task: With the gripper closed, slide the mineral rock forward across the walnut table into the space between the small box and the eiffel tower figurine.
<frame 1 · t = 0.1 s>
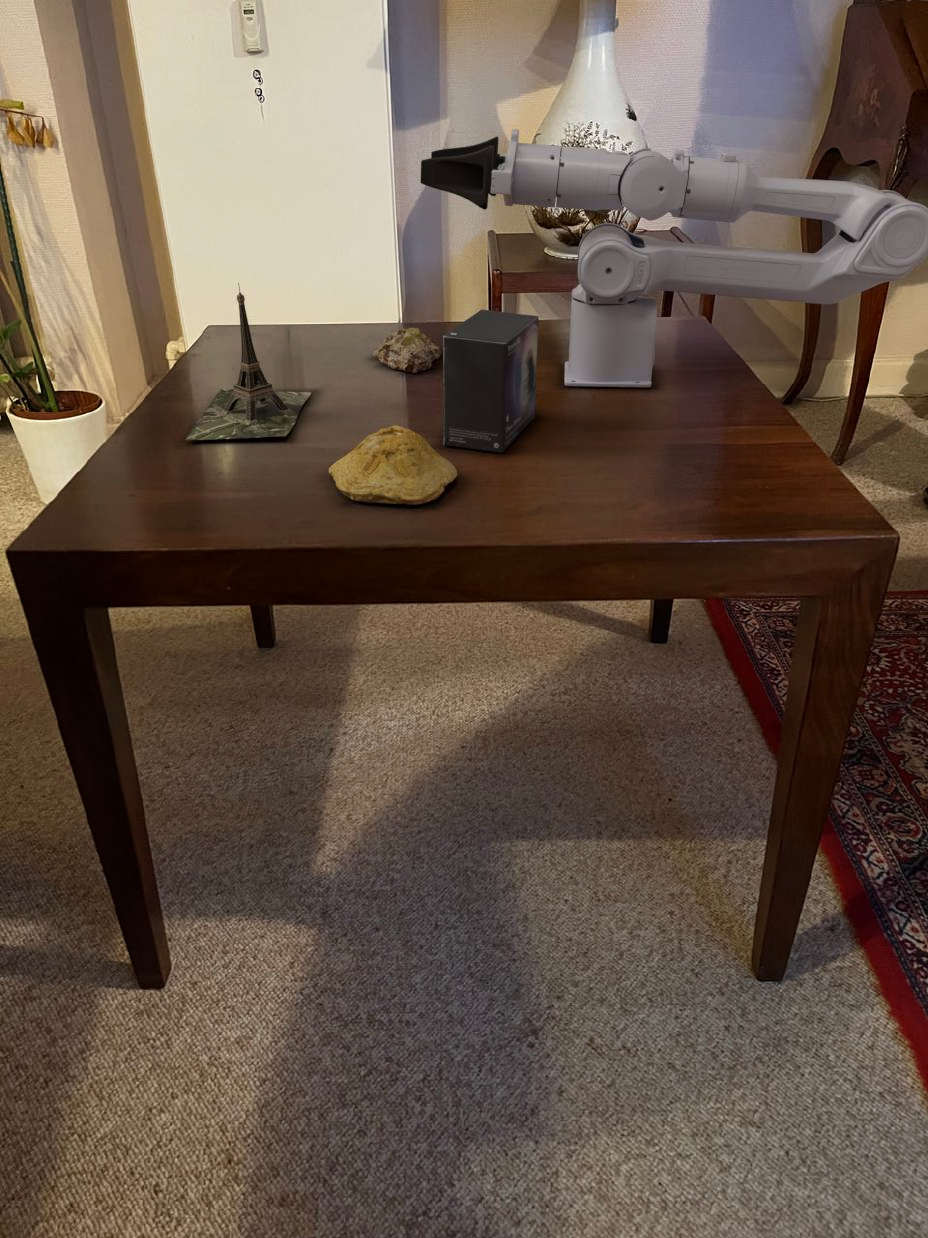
hand: (426, 166, 96), 22 cm above the table, tool horizontal, fingers open, 7 cm apart
small box: (491, 434, 91), on the table
fossil: (389, 485, 81), on the table
mineral rock: (408, 362, 112), on the table
eiffel tower figurine: (253, 418, 96), on the table
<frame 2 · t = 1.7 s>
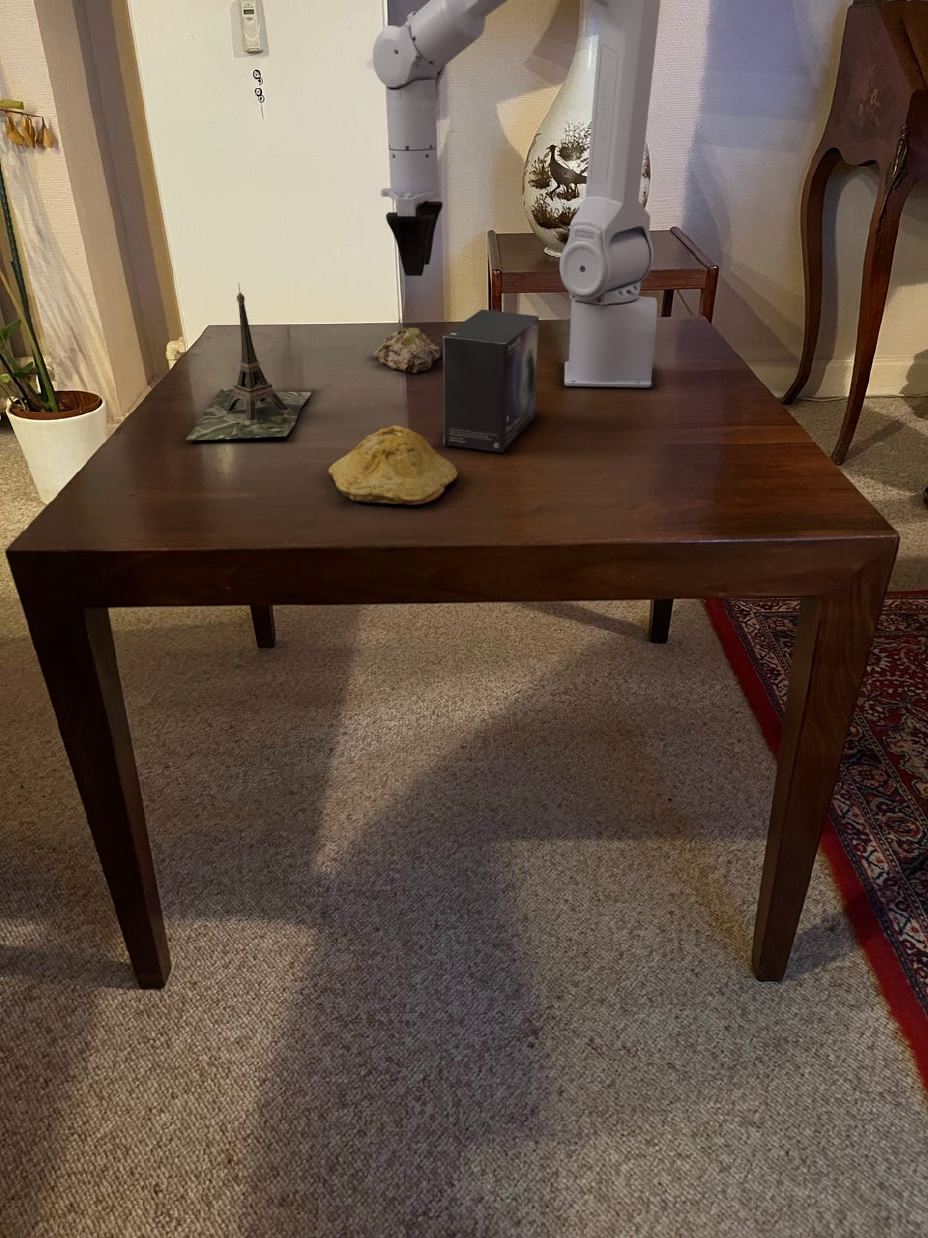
hand: (417, 269, 116), 8 cm above the table, tool pointing down, fingers open, 6 cm apart
nothing on the table moved.
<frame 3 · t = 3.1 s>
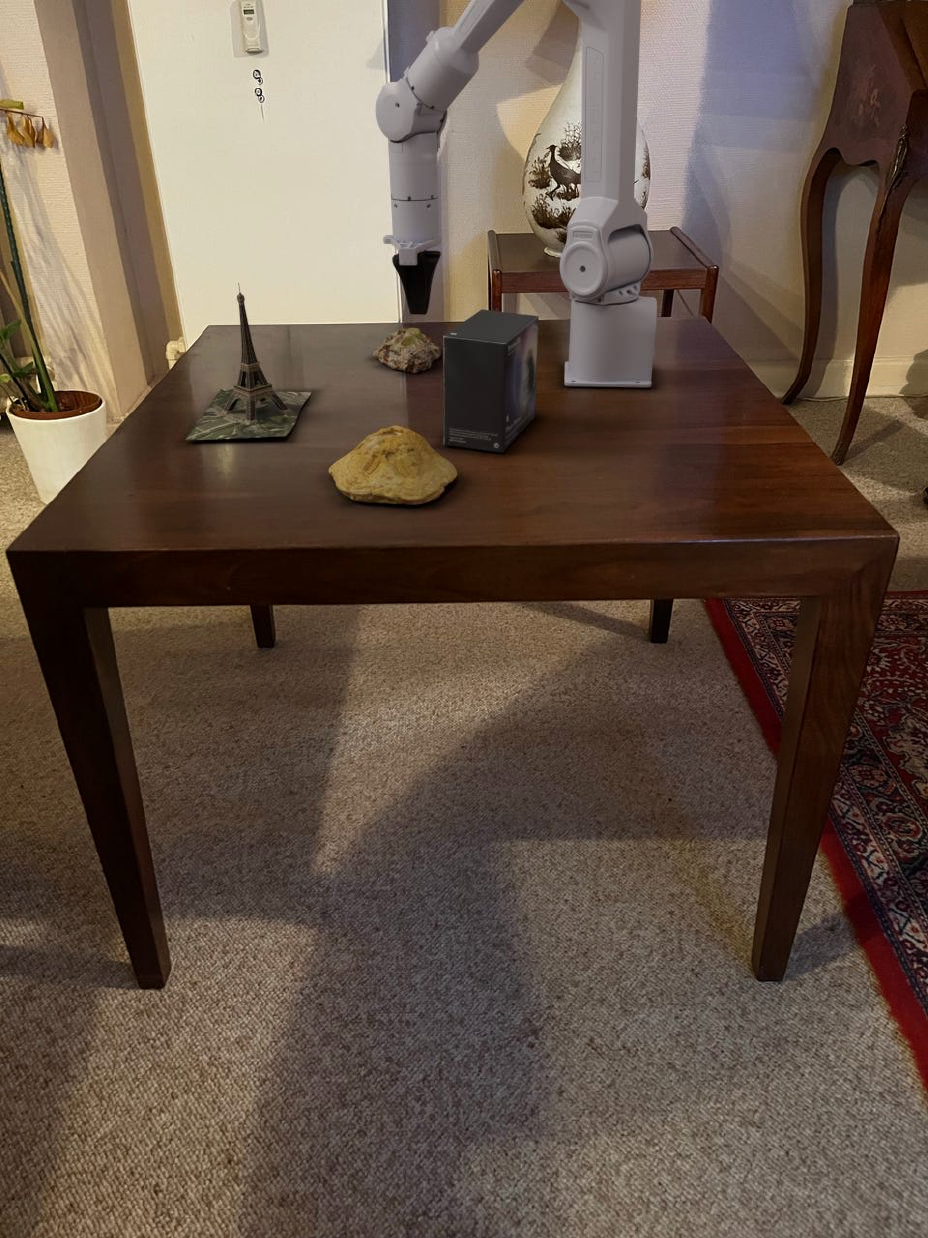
hand: (418, 313, 119), 3 cm above the table, tool pointing down, fingers closed
nothing on the table moved.
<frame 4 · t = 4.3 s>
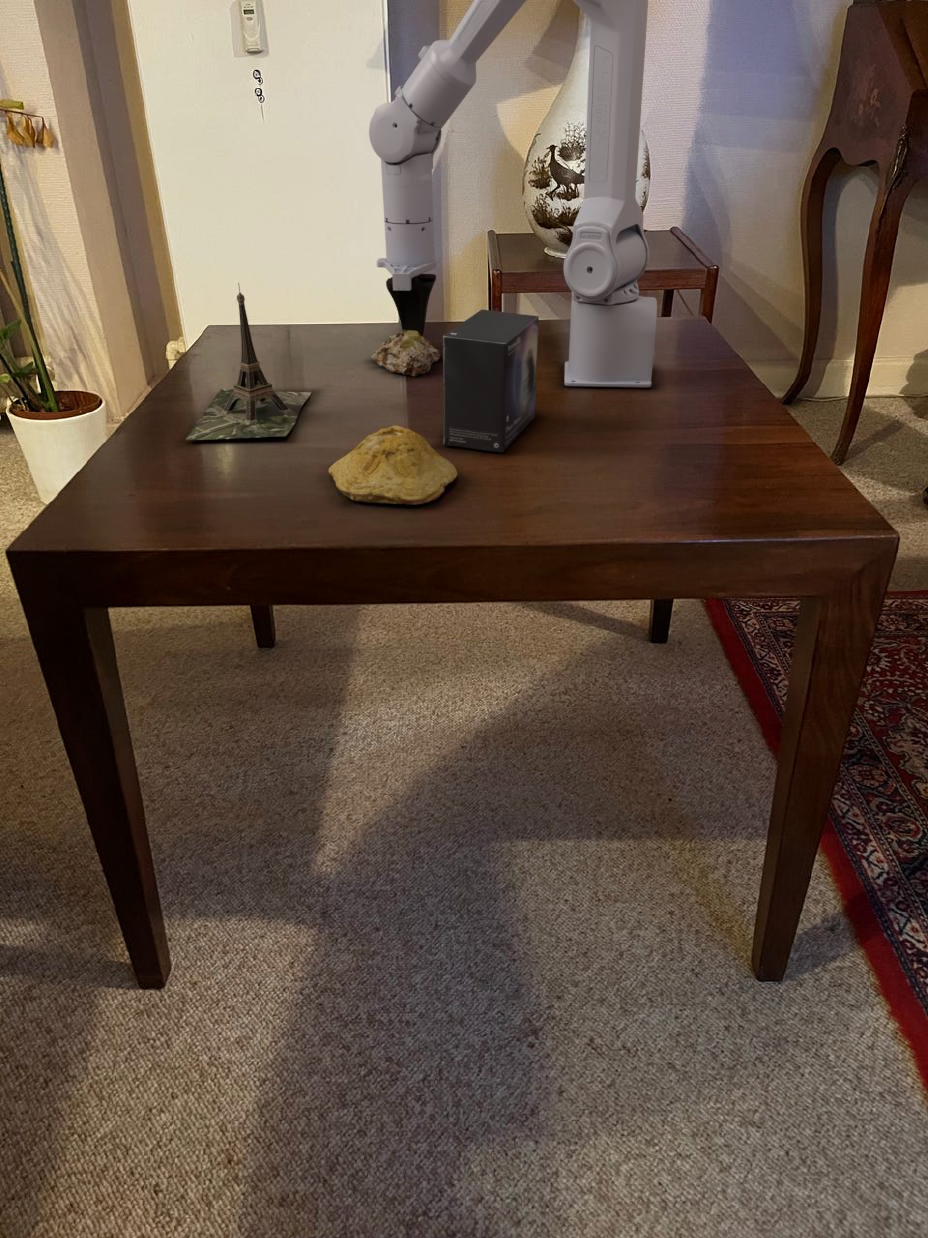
hand: (413, 337, 115), 1 cm above the table, tool pointing down, fingers closed
mineral rock: (407, 365, 111), on the table, touching gripper
everything else where it was.
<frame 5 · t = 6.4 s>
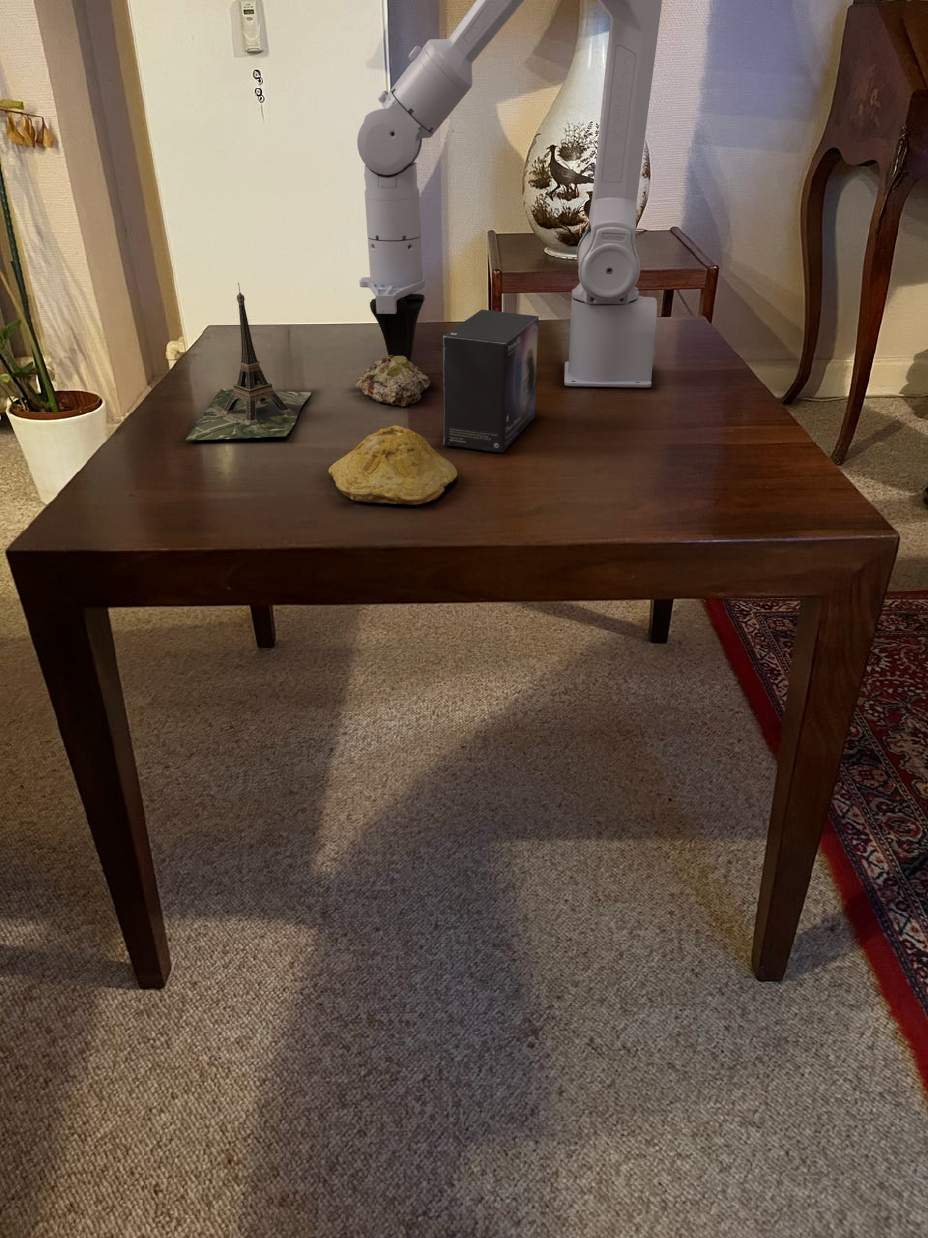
hand: (400, 362, 106), 1 cm above the table, tool pointing down, fingers closed
mineral rock: (394, 394, 102), on the table, touching gripper
everything else where it was.
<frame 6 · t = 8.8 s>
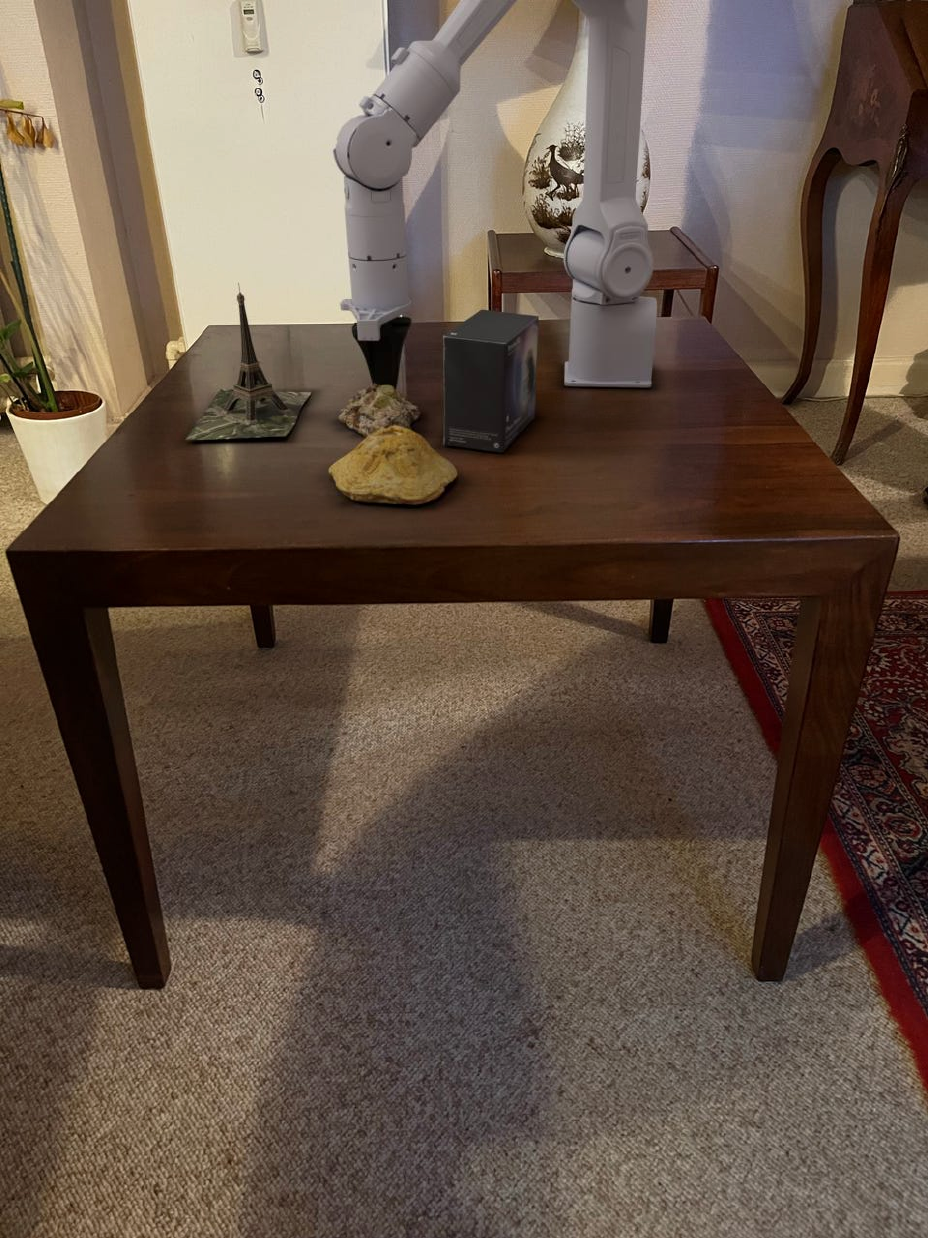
hand: (385, 391, 98), 1 cm above the table, tool pointing down, fingers closed
mineral rock: (381, 426, 94), on the table, touching gripper
everything else where it was.
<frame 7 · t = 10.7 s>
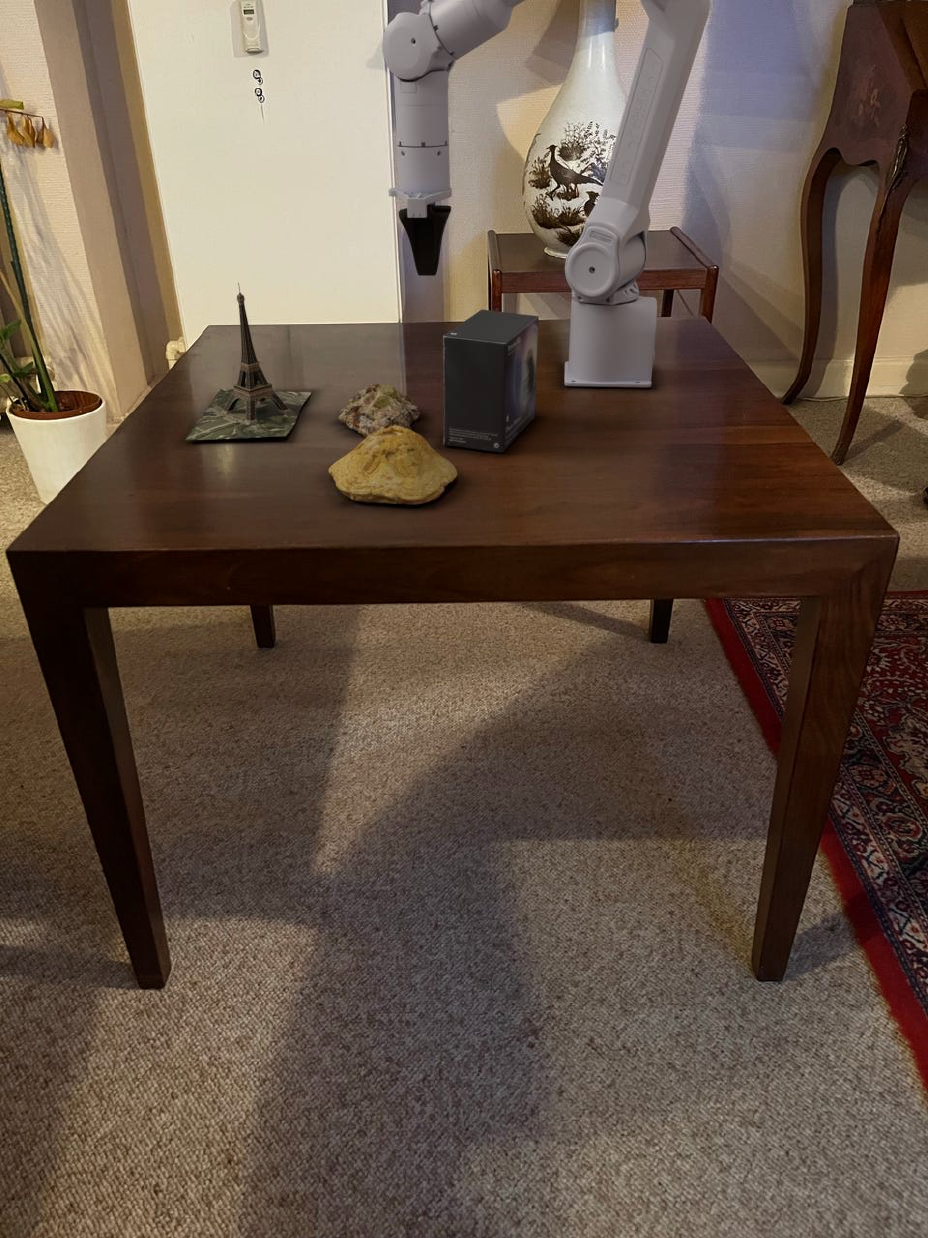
hand: (427, 274, 109), 9 cm above the table, tool pointing down, fingers closed
mineral rock: (381, 426, 94), on the table
everything else where it was.
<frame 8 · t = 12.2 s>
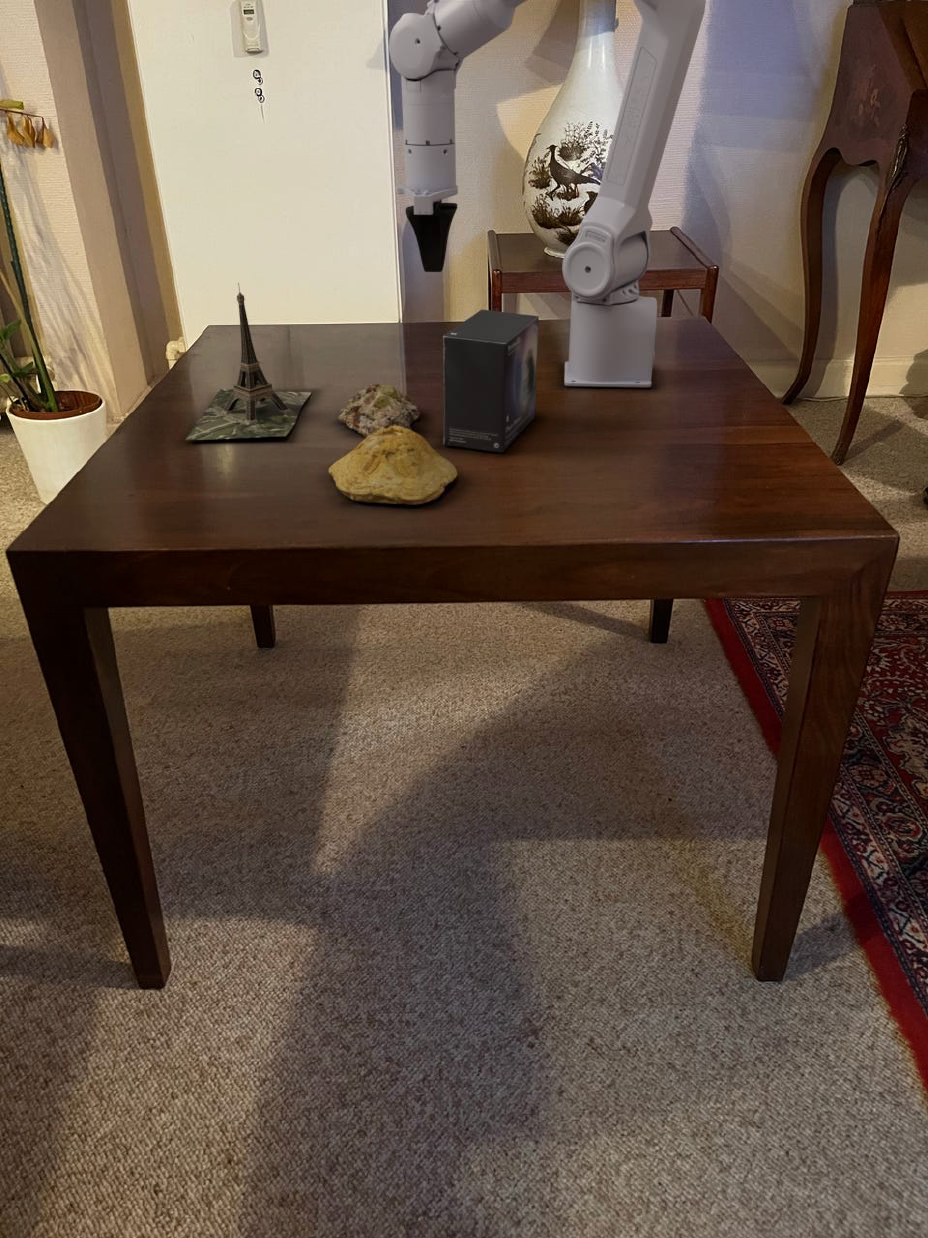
hand: (433, 270, 111), 9 cm above the table, tool pointing down, fingers closed
nothing on the table moved.
at the end: mineral rock inside the target area on the table beside the small box (1.3 cm from its centre), on the table; mineral rock moved 21.6 cm from its start; eiffel tower figurine moved 0.2 cm from its start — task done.
